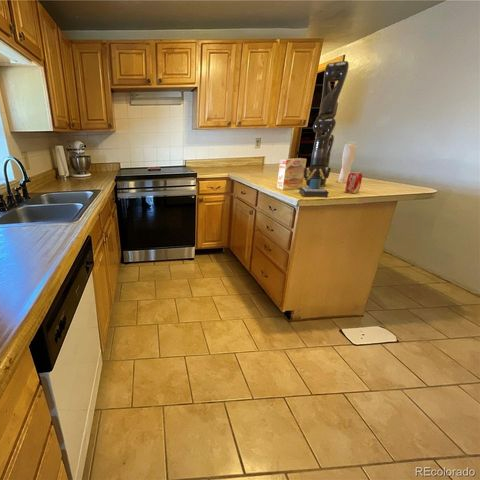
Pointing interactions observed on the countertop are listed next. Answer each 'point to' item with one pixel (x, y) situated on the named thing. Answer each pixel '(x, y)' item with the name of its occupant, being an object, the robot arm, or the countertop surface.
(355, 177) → the soda can
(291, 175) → the coffeecake box
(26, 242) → the countertop surface
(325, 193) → the scale
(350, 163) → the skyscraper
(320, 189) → the scale pan
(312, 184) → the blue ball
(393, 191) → the countertop surface
